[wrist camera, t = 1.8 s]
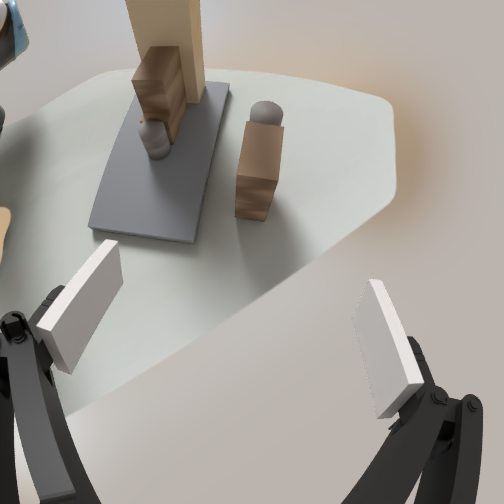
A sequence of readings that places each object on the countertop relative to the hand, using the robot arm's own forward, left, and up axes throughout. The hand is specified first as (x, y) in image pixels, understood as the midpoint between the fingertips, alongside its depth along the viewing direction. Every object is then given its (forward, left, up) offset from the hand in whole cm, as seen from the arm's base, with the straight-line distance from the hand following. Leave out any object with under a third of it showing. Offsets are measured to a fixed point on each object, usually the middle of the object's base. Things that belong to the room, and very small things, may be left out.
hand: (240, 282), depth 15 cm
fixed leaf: (-13, +21, -18) cm, 30 cm away
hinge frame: (-13, +19, -19) cm, 29 cm away
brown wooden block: (0, +15, -19) cm, 24 cm away
